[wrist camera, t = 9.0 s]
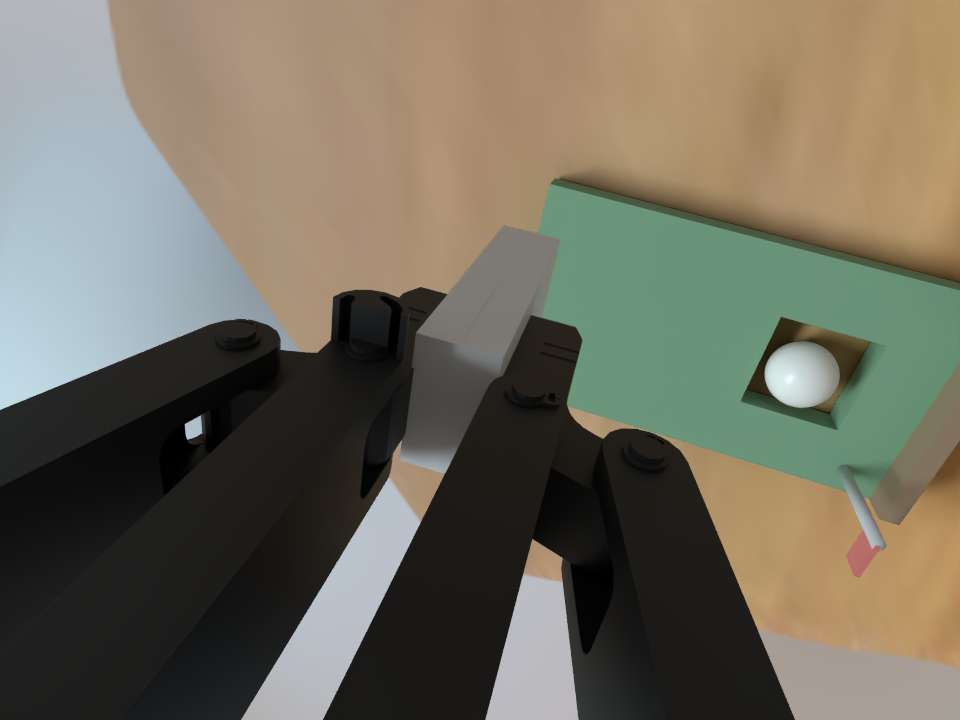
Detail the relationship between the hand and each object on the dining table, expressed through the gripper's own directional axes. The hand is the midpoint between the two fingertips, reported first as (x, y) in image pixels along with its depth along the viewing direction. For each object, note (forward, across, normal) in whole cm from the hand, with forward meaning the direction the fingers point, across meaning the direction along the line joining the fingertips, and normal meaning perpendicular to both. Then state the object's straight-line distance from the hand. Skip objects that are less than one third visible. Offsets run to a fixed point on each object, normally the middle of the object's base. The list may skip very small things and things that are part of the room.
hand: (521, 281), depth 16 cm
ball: (+21, +15, -10) cm, 28 cm away
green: (+23, +11, -10) cm, 27 cm away
